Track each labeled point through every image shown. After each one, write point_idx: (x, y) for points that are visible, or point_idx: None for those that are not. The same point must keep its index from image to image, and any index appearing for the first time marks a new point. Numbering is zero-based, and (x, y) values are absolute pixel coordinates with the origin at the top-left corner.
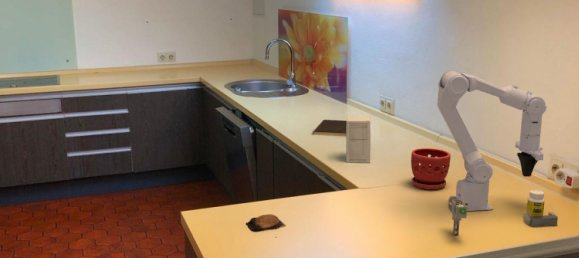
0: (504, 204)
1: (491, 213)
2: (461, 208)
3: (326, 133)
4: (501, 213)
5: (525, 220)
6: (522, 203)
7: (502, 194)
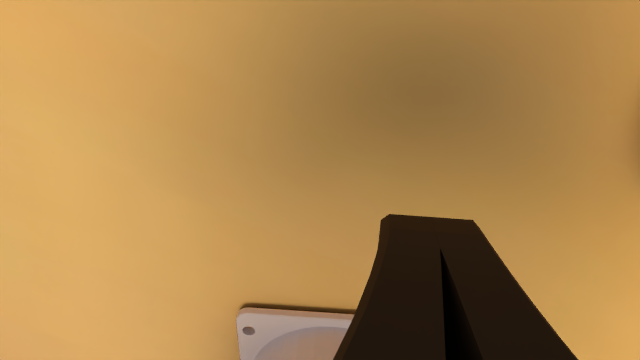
0: (331, 192)
1: None
2: None
3: None
4: None
5: None
6: (332, 24)
7: (71, 96)
